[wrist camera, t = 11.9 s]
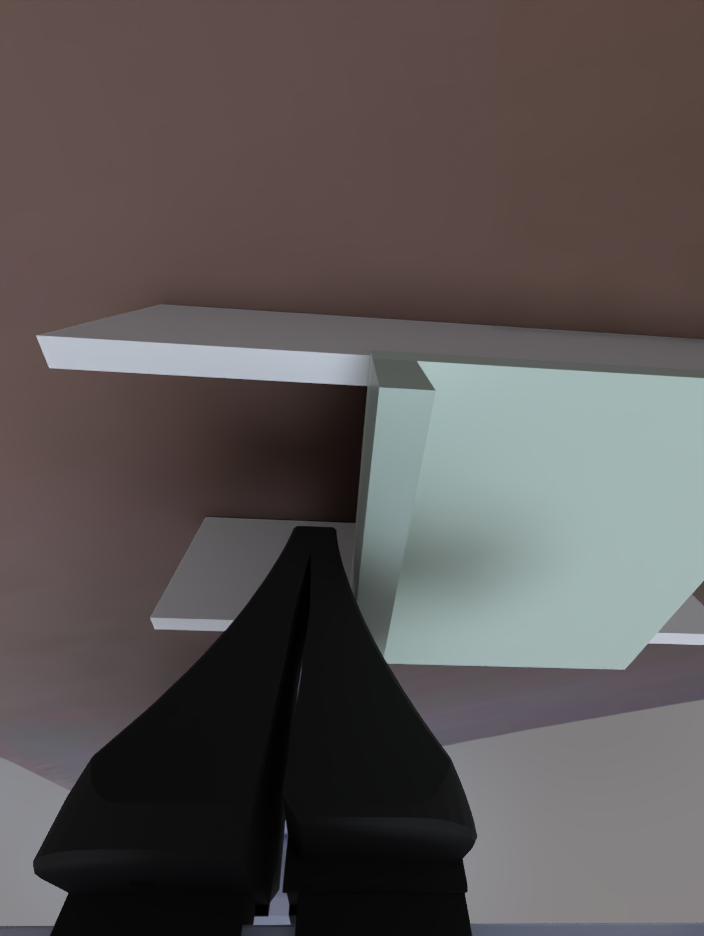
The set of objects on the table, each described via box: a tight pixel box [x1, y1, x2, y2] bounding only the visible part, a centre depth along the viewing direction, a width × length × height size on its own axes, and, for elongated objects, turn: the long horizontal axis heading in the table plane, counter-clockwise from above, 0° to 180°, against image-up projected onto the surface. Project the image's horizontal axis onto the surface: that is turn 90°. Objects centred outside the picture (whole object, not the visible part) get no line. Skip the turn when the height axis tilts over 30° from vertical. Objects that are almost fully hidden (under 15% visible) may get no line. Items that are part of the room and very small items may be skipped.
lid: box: [350, 350, 704, 670], centre depth 11 cm, size 12×12×3 cm
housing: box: [36, 304, 704, 645], centre depth 15 cm, size 12×26×6 cm, turn 87°
